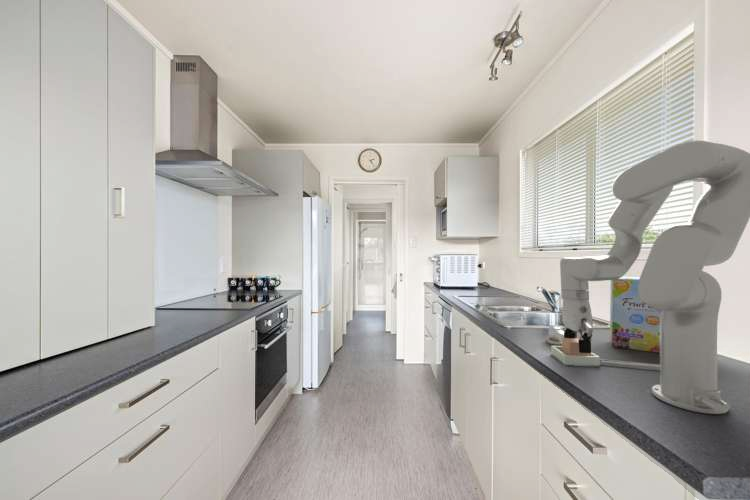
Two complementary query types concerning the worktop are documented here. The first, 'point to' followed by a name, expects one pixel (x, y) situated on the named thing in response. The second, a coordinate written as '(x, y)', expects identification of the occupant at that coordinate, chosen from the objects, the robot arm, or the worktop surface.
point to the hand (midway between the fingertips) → (577, 348)
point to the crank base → (553, 342)
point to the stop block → (571, 347)
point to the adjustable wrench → (630, 364)
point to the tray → (575, 358)
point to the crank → (557, 333)
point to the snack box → (632, 318)
